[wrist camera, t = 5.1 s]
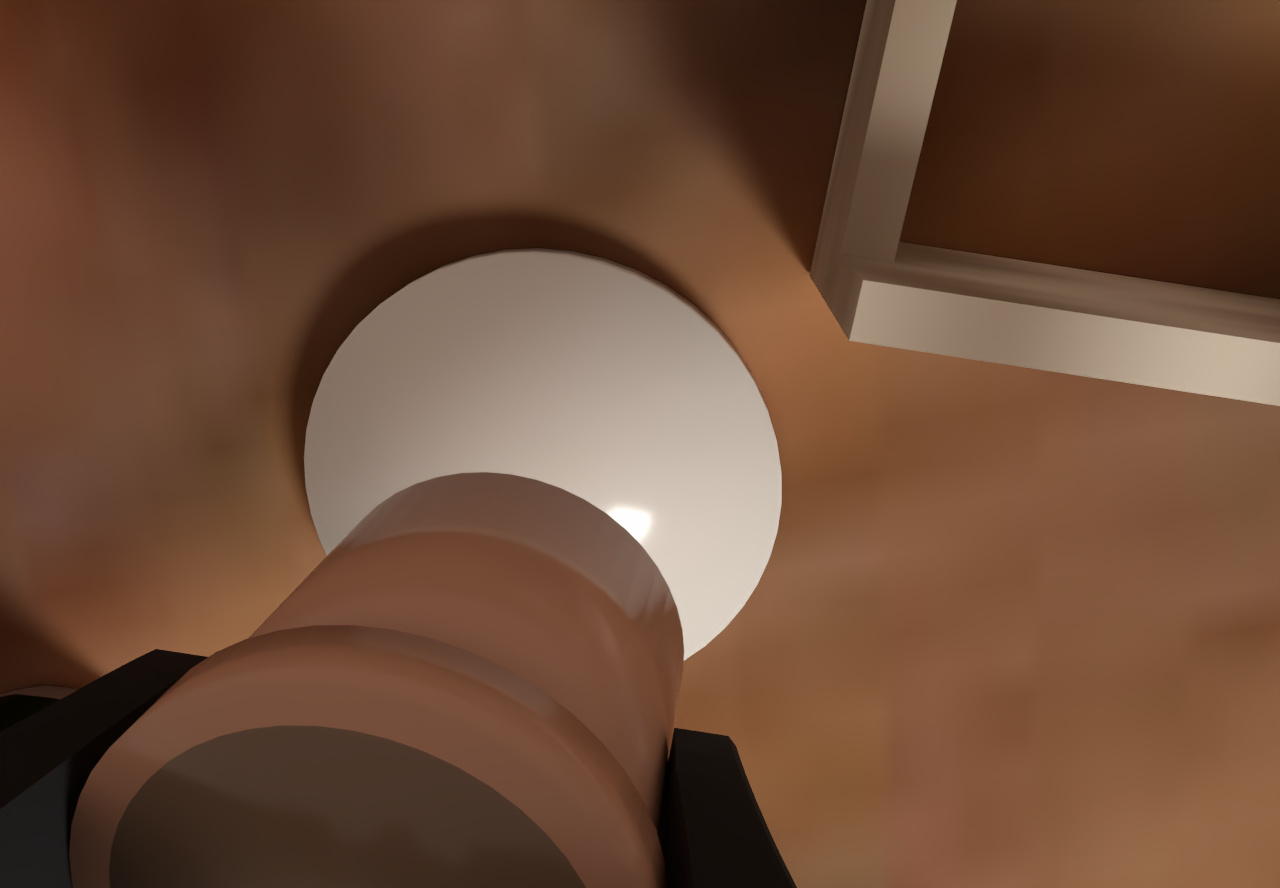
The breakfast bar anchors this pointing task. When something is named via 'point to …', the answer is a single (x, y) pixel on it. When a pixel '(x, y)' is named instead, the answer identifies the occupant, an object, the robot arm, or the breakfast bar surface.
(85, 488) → the breakfast bar surface
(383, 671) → the flower pot
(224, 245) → the breakfast bar surface
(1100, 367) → the frame
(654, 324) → the coaster
